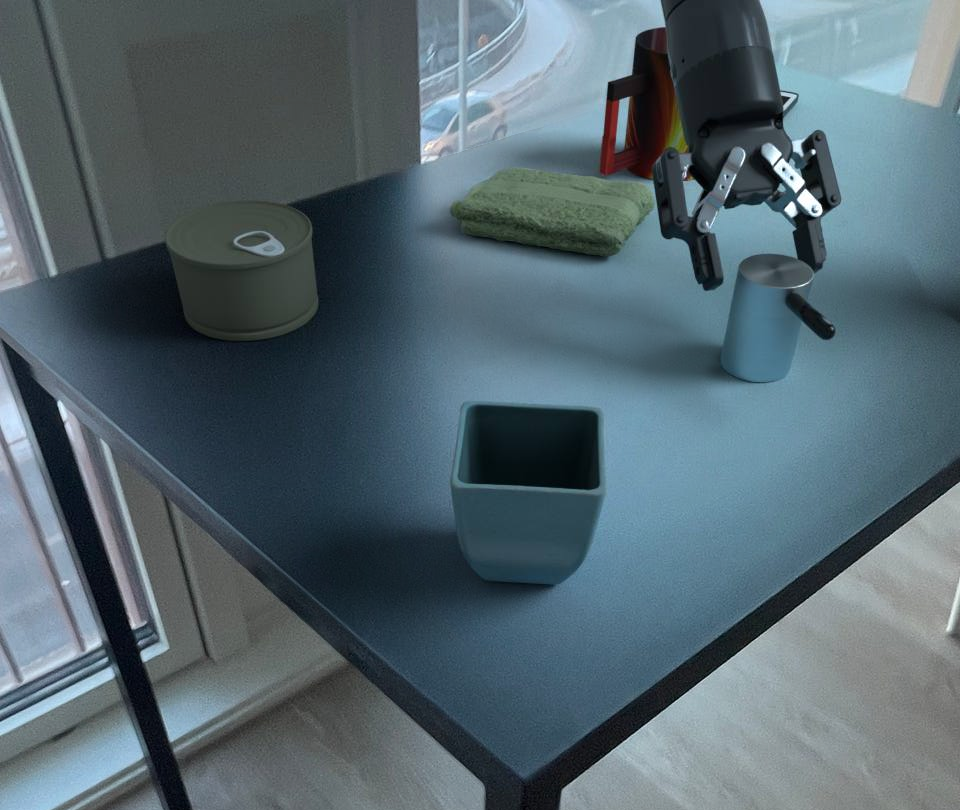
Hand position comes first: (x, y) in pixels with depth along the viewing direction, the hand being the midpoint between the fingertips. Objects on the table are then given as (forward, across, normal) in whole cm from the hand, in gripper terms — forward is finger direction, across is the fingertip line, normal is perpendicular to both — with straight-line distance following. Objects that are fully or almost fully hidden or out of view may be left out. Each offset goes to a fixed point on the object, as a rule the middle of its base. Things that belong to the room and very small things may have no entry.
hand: (764, 280), depth 78 cm
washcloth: (-15, -6, +25) cm, 30 cm away
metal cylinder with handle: (+7, 0, +2) cm, 8 cm away
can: (-9, -38, +19) cm, 43 cm away
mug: (-22, +9, +31) cm, 39 cm away
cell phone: (-30, +26, +39) cm, 56 cm away
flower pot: (+18, -26, -8) cm, 32 cm away
